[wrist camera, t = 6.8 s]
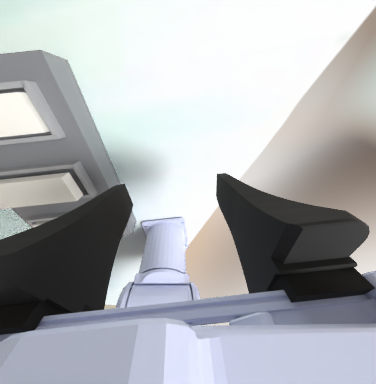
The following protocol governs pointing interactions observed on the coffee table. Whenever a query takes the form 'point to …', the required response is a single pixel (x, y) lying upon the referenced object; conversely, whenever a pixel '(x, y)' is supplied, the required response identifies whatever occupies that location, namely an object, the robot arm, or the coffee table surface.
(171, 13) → the coffee table surface
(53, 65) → the switch panel
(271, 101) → the coffee table surface
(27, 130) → the key
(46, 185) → the middle key
